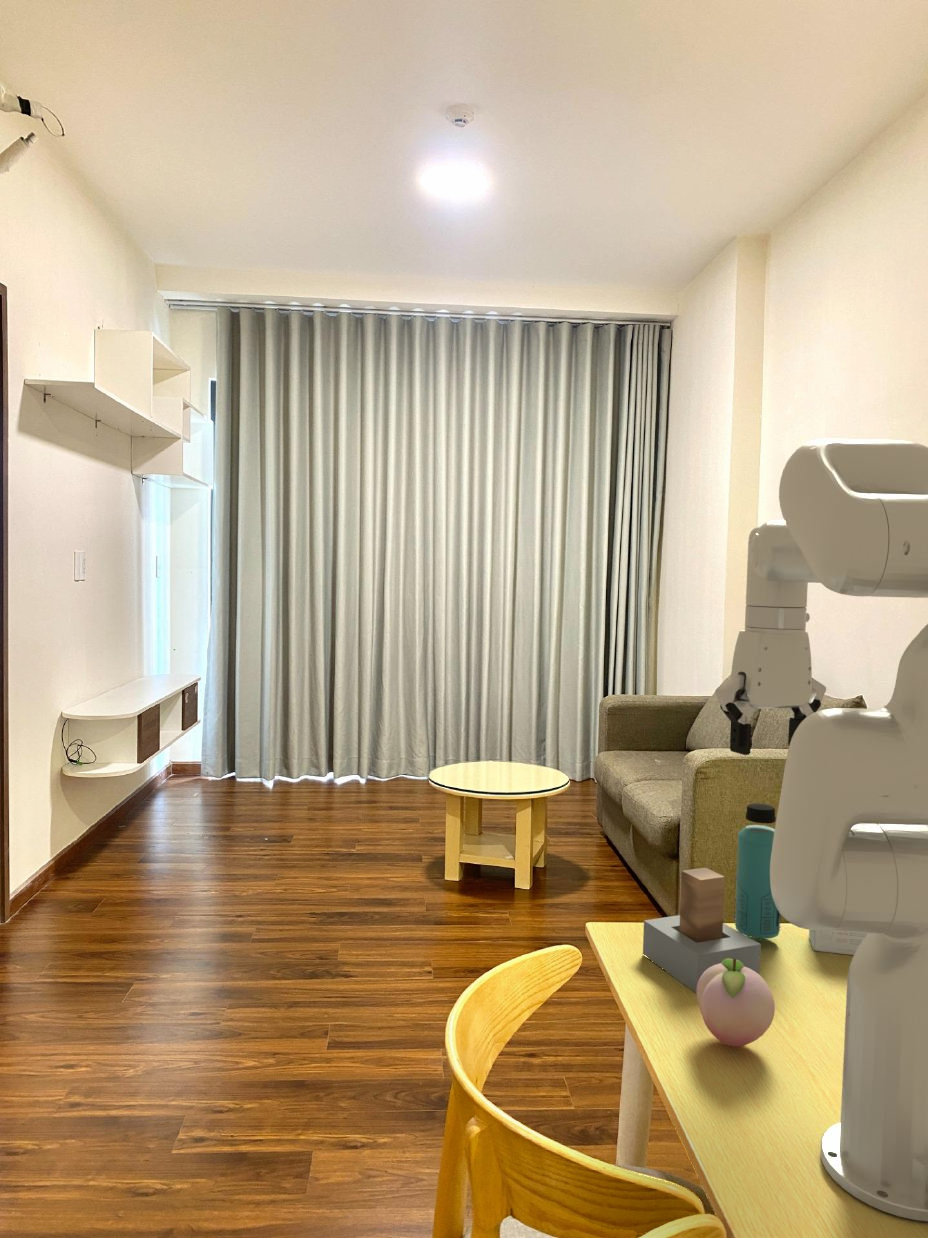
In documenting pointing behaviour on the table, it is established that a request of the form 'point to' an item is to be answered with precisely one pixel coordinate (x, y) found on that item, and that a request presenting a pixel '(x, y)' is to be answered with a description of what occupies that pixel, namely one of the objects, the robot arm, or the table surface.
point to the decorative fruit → (735, 1003)
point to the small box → (836, 941)
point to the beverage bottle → (756, 876)
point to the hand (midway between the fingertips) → (769, 751)
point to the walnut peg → (702, 904)
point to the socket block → (695, 950)
